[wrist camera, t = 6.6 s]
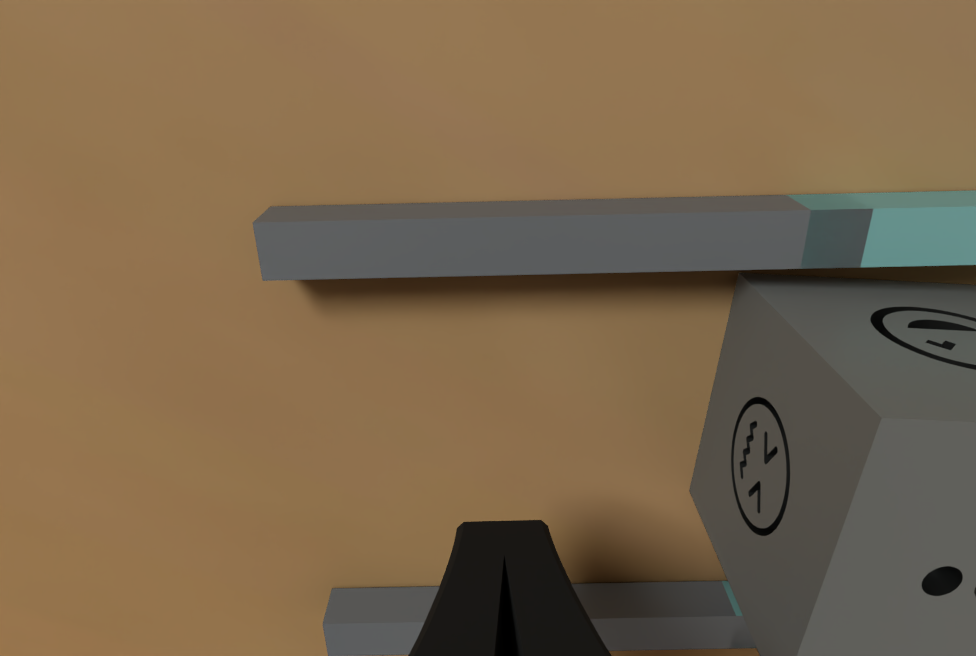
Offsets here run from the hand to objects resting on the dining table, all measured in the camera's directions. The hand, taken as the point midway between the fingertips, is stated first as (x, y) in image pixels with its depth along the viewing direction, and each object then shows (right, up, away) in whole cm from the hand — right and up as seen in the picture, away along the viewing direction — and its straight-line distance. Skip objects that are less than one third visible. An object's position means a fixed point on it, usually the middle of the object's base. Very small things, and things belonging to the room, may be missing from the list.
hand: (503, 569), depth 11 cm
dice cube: (+7, +3, +3) cm, 8 cm away
